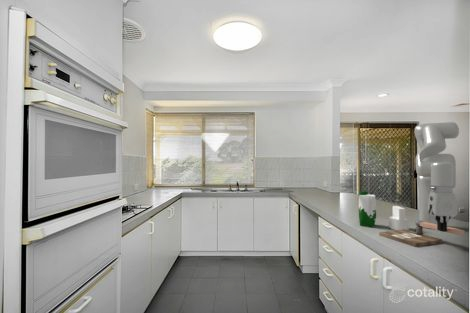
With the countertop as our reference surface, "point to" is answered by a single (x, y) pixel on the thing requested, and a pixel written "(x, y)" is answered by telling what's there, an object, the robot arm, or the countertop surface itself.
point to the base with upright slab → (398, 219)
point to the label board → (411, 237)
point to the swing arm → (434, 226)
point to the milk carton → (367, 209)
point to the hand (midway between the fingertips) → (442, 230)
